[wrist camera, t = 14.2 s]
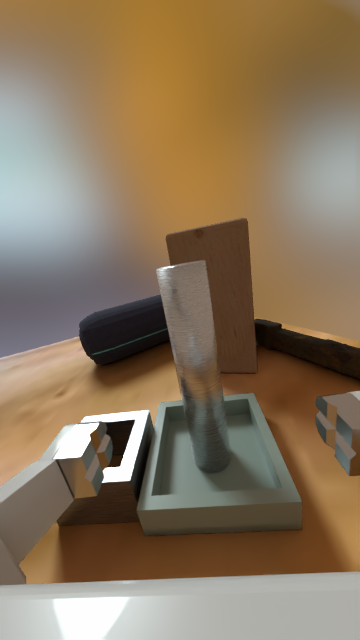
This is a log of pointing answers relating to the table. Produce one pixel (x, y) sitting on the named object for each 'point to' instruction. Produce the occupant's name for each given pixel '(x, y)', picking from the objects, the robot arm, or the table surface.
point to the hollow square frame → (117, 473)
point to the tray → (217, 478)
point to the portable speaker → (124, 330)
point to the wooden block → (224, 287)
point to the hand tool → (309, 347)
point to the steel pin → (196, 361)
